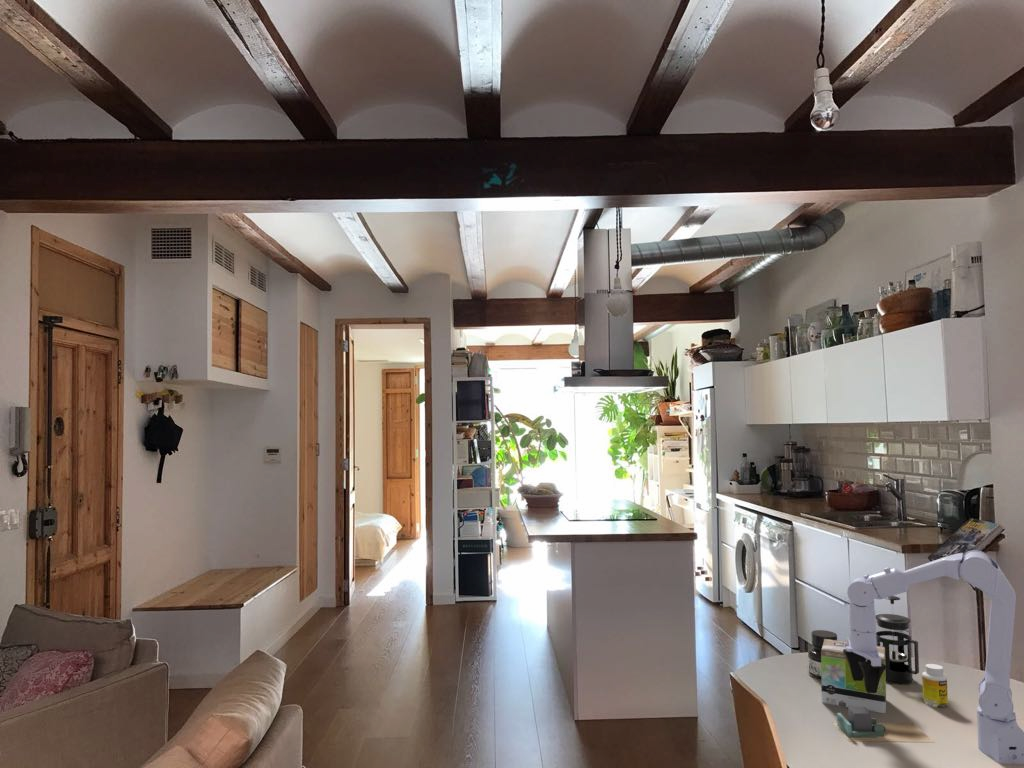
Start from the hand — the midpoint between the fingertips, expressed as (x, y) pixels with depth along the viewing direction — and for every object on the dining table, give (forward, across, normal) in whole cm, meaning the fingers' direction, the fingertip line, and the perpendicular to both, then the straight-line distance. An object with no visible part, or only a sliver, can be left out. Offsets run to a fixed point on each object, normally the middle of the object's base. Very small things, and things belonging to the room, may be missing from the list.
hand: (864, 686), depth 175 cm
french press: (+10, -32, +22) cm, 40 cm away
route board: (+10, +4, +2) cm, 11 cm away
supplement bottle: (+10, -13, +23) cm, 28 cm away
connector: (+9, +4, -1) cm, 10 cm away
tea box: (+10, -14, +3) cm, 18 cm away
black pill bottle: (+10, -34, +3) cm, 36 cm away
